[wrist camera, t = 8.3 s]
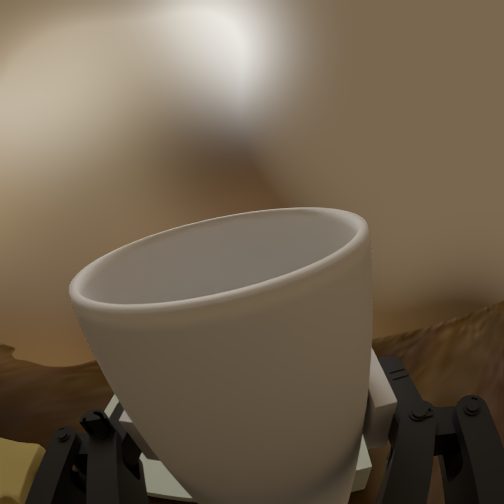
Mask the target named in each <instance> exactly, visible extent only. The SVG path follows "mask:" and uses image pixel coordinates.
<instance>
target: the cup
mask: <svg viewBox="0 0 504 504" xmlns="http://www.w3.org/2000/svg"><path fill="white" fill-rule="evenodd" d="M372 292H373V291H372V258H371V242H370V235H369V230H368V225H367V223H366V221H365V220H364V219H363V218H362V217H361V216H359V215H356V214H355V213H352V212H348V211H344V210H338V209H330V208H282V209H271V210H261V211H254V212H247V213H240V214H234V215H229V216H223V217H218V218H213V219H209V220H204V221H200V222H196V223H192V224H188V225H184V226H181V227H177V228H173V229H170V230H167V231H164V232H160V233H157V234H154V235H151V236H148V237H145V238H143V239H140V240H137V241H135V242H132V243H130V244H127V245H125V246H123V247H120V248H119V249H116V250H114V251H112V252H110V253H108V254H106V255H104V256H102V257H100V258H99V259H97V260H95V261H94V262H92V263H91V264H89V265H88V266H86V267H85V268H83V269H82V270H81V271H80V272H79V273H78V274H77V275H76V276H75V277H74V278H73V280H72V281H71V283H70V285H69V294H70V298H71V302H72V305H73V309H74V311H75V314H76V316H77V319H78V321H79V324H80V326H81V328H82V330H83V333H84V335H85V337H86V339H87V342H88V344H89V346H90V348H91V350H92V352H93V354H94V356H95V358H96V360H97V362H98V364H99V366H100V368H101V370H102V372H103V374H104V376H105V377H106V379H107V381H108V383H109V385H110V386H111V388H112V390H113V392H114V393H115V395H116V397H117V398H118V400H119V402H120V403H121V405H122V407H123V408H124V410H125V411H126V413H127V415H128V416H129V418H130V419H131V421H132V422H133V424H134V425H135V427H136V428H137V430H138V431H139V433H140V434H141V435H142V437H143V438H144V440H145V441H146V442H147V444H148V445H149V446H150V448H151V449H152V450H153V452H154V453H155V454H156V456H157V457H158V458H159V460H160V461H161V462H162V463H163V465H164V466H165V467H166V468H167V470H168V471H169V472H170V473H171V474H172V476H173V477H174V478H175V479H176V480H177V481H178V482H179V484H180V485H181V486H182V487H183V488H184V489H185V490H186V491H187V493H188V494H189V495H190V496H191V497H192V498H193V499H194V500H195V501H196V502H197V503H198V504H348V501H349V497H350V493H351V489H352V485H353V481H354V476H355V472H356V467H357V462H358V457H359V452H360V446H361V440H362V434H363V428H364V421H365V414H366V406H367V397H368V388H369V377H370V364H371V347H372V317H373V316H372V315H373V296H372V295H373V294H372Z"/></svg>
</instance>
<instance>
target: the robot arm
mask: <svg viewBox="0 0 504 504" xmlns="http://www.w3.org/2000/svg"><path fill="white" fill-rule="evenodd" d="M80 424H81V425H82V426H83V428H84V429H85V430H86V432H87V433H77V432H76V431H75V430H74V429H73V428H72V427H70V426H63V427H61V428H59V429H58V430H56V432H55V433H54V434H53V437H52V439H51V441H50V443H49V445H48V447H47V450H46V452H45V454H44V456H43V459H42V461H41V463H40V466H39V468H38V470H37V473H36V475H35V478H34V480H33V483H32V485H31V488H30V491H29V493H28V496H27V499H26V502H25V504H149V501H148V495H147V489H146V483H145V476H144V469H143V464H142V461H141V460H140V459H139V458H140V455H141V453H143V454H144V456H145V457H146V458H147V459H150V460H156V461H160V460H159V458H158V457H157V456H156V454H155V453H154V452H153V450H152V449H151V448H150V446H149V445H148V444H147V442H146V441H145V440H144V438H143V437H142V435H141V434H140V433H139V431H138V430H137V428H136V427H135V425H134V424H133V422H132V421H131V419H130V418H129V416H128V415H127V413H126V411H125V410H124V408H123V407H122V405H121V403H120V402H119V403H117V405H116V407H115V409H114V410H113V412H112V414H111V415H110V417H109V418H108V416H107V415H106V413H105V412H104V411H102V410H99V409H97V410H91V411H88V412H87V413H85V414H84V415H83V416H82V417H81V419H80ZM363 434H364V438H365V442H366V445H367V449H368V450H369V449H373V448H377V447H380V446H384V445H386V444H387V441H388V438H389V441H390V444H391V448H390V451H389V454H388V457H387V465H386V469H385V473H384V477H383V480H382V484H381V487H380V491H379V494H378V498H377V501H376V504H426V503H427V498H428V492H429V486H430V480H431V473H432V465H433V456H437V455H438V458H439V463H440V469H441V475H442V481H443V488H444V496H445V504H504V449H503V446H502V443H501V440H500V437H499V434H498V432H497V429H496V426H495V424H494V421H493V419H492V416H491V414H490V411H489V409H488V407H487V404H486V403H485V401H484V400H483V399H482V398H480V397H479V396H475V395H468V396H465V397H463V398H461V399H460V400H459V401H458V403H457V405H456V406H451V407H433V405H432V404H430V403H429V402H427V401H423V399H422V398H421V396H420V394H419V393H418V391H417V389H416V387H415V385H414V383H413V382H412V380H411V378H410V376H409V375H408V373H407V371H406V370H405V368H404V366H403V364H402V362H401V361H400V360H399V359H398V358H396V357H395V356H393V355H389V356H385V357H381V358H377V357H376V355H375V353H374V351H373V349H372V347H371V364H370V377H369V388H368V397H367V406H366V414H365V421H364V428H363ZM73 464H74V465H75V466H76V469H75V471H73V470H72V467H73Z"/></svg>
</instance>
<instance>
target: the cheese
mask: <svg viewBox="0 0 504 504" xmlns="http://www.w3.org/2000/svg"><path fill="white" fill-rule="evenodd" d="M45 452H46V450H45V449H44V448H42V447H41V446H40V445H39V444H32V443H21V442H15V441H11V440H7V439H3V438H0V504H25V502H26V499H27V496H28V493H29V491H30V488H31V485H32V483H33V480H34V478H35V475H36V473H37V470H38V468H39V466H40V463H41V461H42V459H43V456H44V454H45Z"/></svg>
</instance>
